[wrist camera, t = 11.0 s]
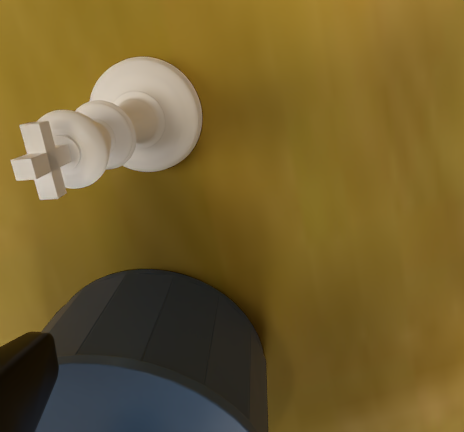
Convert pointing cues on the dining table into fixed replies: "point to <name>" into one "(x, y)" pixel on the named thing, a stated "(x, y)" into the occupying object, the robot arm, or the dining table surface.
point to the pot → (169, 333)
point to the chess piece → (114, 129)
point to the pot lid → (133, 399)
